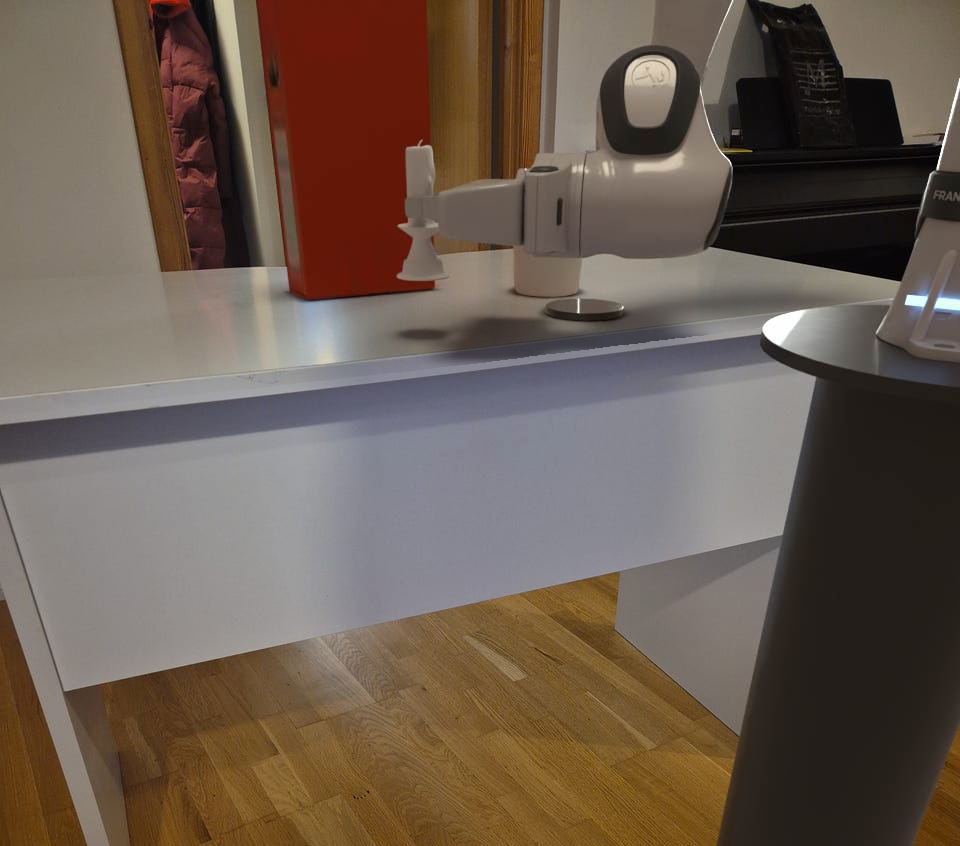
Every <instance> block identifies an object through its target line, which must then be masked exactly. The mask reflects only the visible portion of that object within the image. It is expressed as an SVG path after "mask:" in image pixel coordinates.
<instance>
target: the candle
mask: <svg viewBox="0 0 960 846" xmlns="http://www.w3.org/2000/svg"><path fill="white" fill-rule="evenodd" d="M421 142H422V140H421V141H420V142H419V144H418V146H417V147H415V146H413V147H407V148H406V181H407V198H408V197H410V196H433V193H434V185H435V183H436V182H435V181H436V168H435V161H434V151H433V147H432V145H431V146H429V145H426V146H422V147H420V143H421ZM398 227H399V228H400V229H402V230H403V231H405V232H406V233H407V234H409V235H410V236H412V237H413V243H412V246H411V249H410V252H409V255H408V257H407V259H406V260H404V263H403V270H402V272H401V273H399V274H398V275H397V278H399V279H402V280H409V281H434V280H435V281H442V280H446V279H448V278H449V277H450V274H449V273H448V272H447V271H445V270H444V266H443V261H442V259H441V258H439V257H438V255H437V252H436V250H435V247H434V248H433V245H432V242H431V237H432V236H433V237H434V235H436V234H438V233H439V229H438V222H436V221H434V220H429V219H424V218H408V223H405V224H399V225H398Z"/></svg>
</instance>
